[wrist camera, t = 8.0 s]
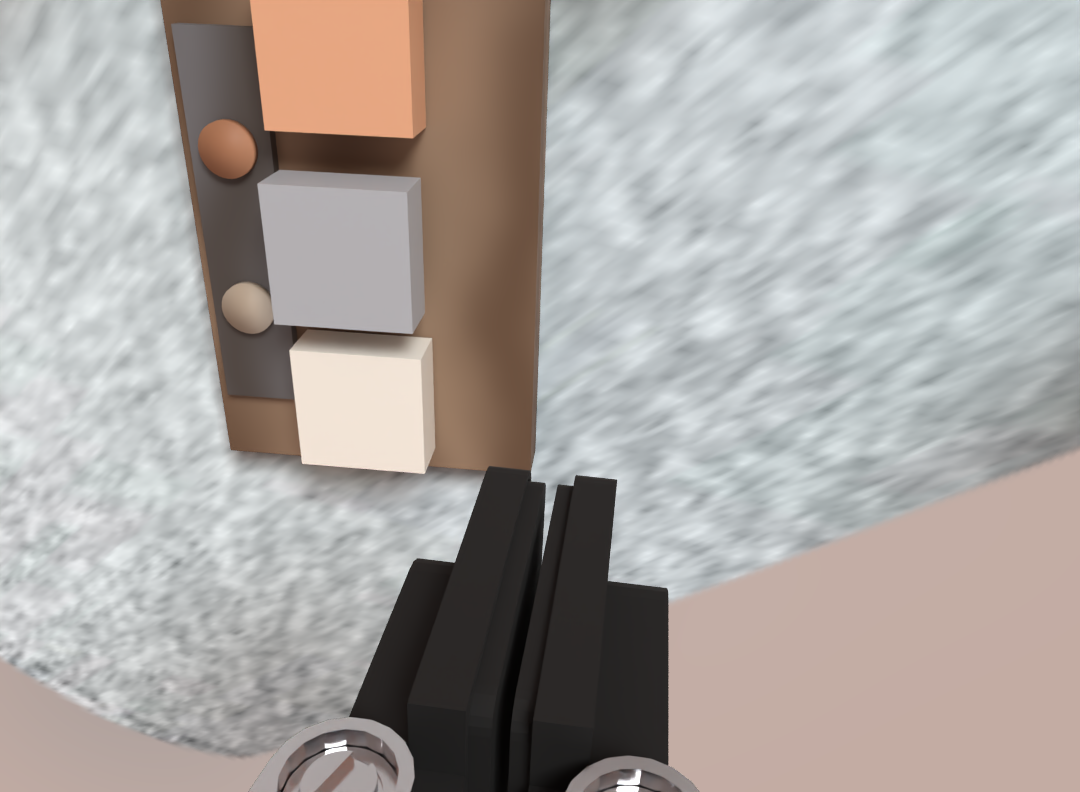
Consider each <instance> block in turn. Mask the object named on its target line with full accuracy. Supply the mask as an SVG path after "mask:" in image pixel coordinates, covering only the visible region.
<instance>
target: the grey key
mask: <svg viewBox="0 0 1080 792" xmlns="http://www.w3.org/2000/svg"><path fill="white" fill-rule="evenodd" d="M257 185H258V193H259V202H260V210H261V218H262V227H263V235H264V243H265V252H266V260H267V268H268V277H269V285H270V293H271V302H272V310H273V319H274V324H277V325H291V326H305V327H320V328H334V329H348V330H363V331H377V332H391V333H405V334H413V333H414V331H415V329H416V327H417V326H418V324H419V322H420V321H421V319H422V317H423V315H424V314H425V296H424V265H423V234H422V202H421V178H417V177H399V176H381V175H364V174H346V173H328V172H311V171H293V170H278V171H277V172H275V173H274V174H272V175H270V176H269V177H267V178H266V179H264V180H262V181H261V182H259V183H258V184H257Z"/></svg>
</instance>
